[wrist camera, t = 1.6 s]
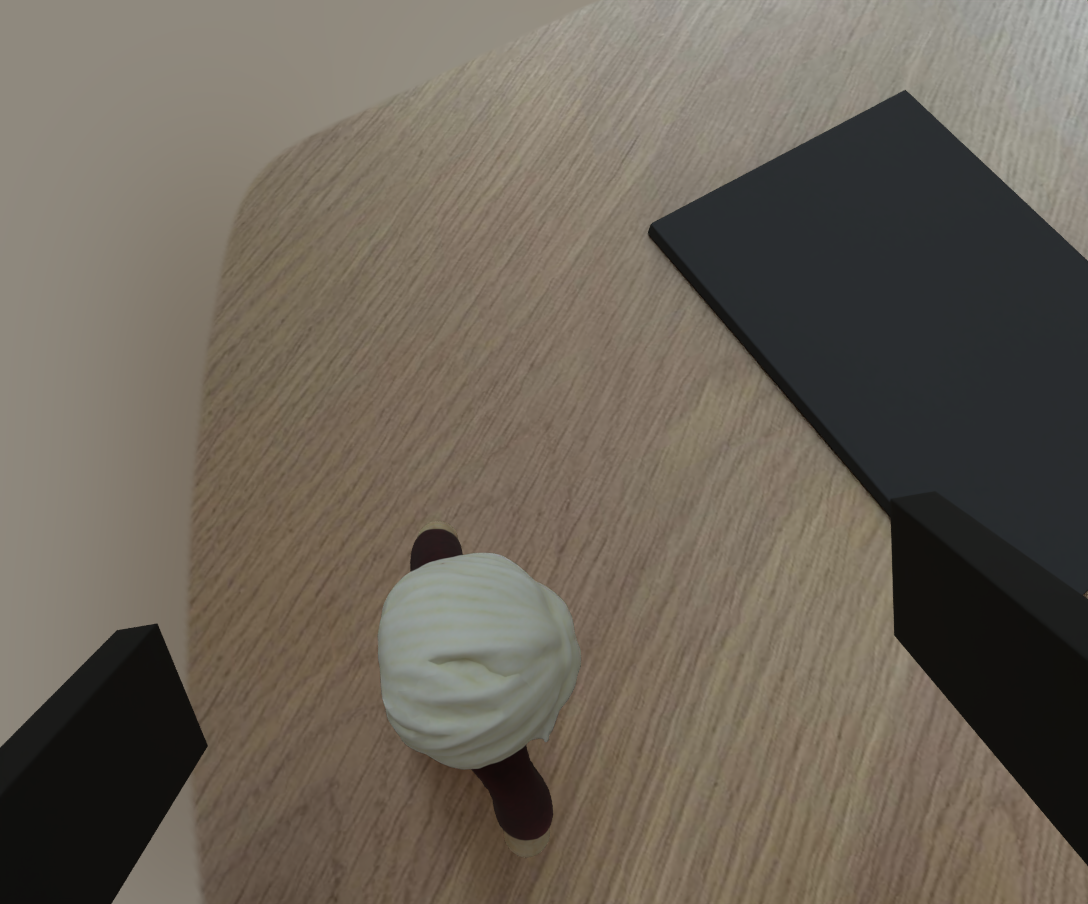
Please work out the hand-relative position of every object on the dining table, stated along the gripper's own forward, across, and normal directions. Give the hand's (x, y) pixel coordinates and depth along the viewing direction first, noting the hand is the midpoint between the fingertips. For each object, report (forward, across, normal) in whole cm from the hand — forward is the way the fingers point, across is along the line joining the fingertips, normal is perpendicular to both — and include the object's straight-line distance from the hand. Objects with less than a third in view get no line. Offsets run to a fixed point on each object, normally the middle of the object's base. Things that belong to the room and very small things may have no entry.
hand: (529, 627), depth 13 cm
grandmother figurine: (+7, -3, -7) cm, 10 cm away
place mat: (+17, +17, -1) cm, 24 cm away
